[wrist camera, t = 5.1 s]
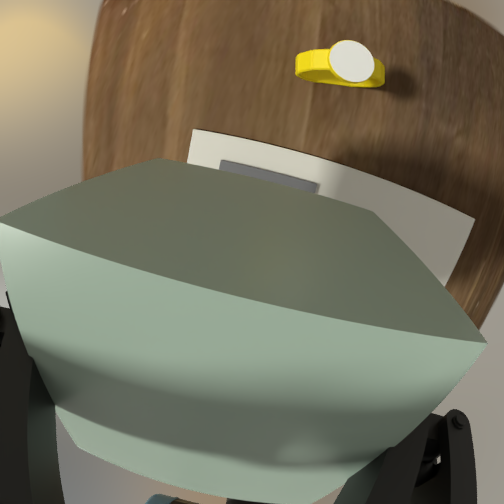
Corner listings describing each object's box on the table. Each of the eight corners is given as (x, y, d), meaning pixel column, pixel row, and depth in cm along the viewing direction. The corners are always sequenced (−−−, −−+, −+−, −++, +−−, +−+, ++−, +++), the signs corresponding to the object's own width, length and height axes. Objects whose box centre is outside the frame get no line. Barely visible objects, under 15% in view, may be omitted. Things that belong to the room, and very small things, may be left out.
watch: (367, 66, 17) (400, 51, 12) (367, 98, 18) (401, 92, 13) (292, 55, 17) (303, 32, 12) (291, 88, 18) (303, 75, 13)
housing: (305, 366, 16) (309, 505, 8) (145, 326, 16) (77, 447, 8) (372, 211, 12) (488, 343, 4) (158, 158, 12) (-6, 220, 4)
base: (428, 312, 25) (430, 315, 25) (175, 251, 25) (173, 254, 25) (473, 218, 21) (476, 220, 20) (194, 129, 21) (192, 129, 20)
